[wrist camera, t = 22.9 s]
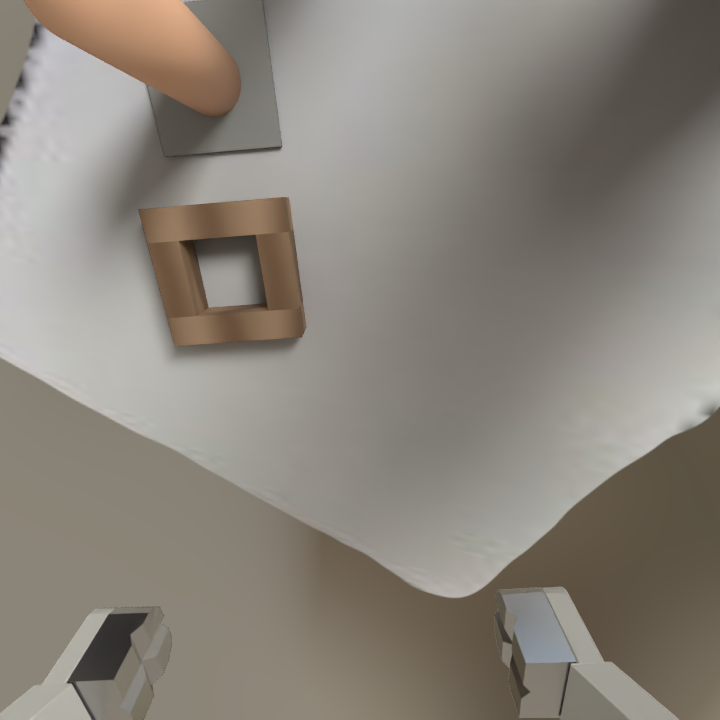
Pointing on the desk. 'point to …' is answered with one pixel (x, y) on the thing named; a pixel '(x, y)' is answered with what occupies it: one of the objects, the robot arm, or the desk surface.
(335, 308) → the desk surface
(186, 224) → the holder
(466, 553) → the desk surface
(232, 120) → the mat
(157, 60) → the peg
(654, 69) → the desk surface
